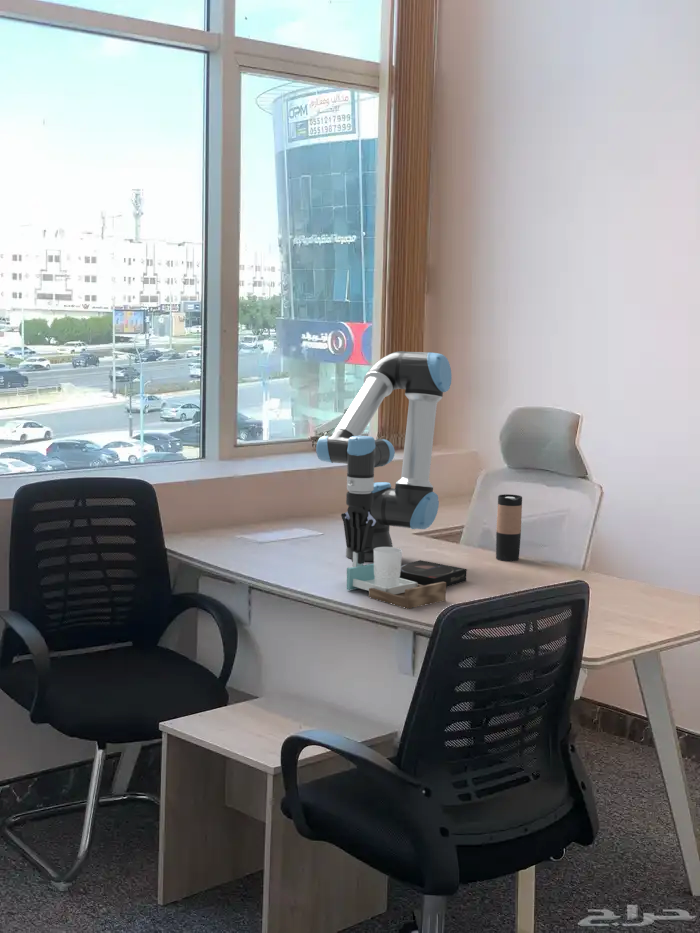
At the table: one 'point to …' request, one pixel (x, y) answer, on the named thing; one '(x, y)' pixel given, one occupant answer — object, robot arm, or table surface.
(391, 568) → the white cup
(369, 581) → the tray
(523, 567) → the table surface
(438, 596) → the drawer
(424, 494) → the robot arm
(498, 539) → the travel mug
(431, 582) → the portable cd player
